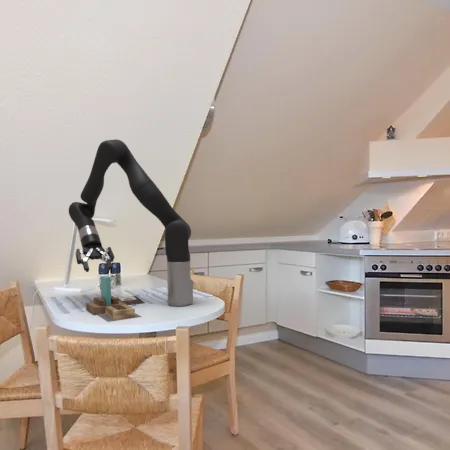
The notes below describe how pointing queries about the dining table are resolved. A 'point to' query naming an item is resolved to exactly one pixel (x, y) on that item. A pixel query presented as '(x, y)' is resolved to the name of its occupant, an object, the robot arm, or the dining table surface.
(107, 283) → the teal rectangular pillar
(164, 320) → the dining table surface
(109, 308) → the rack
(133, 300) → the chocolate bar
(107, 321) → the mat
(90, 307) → the brown wooden stand
